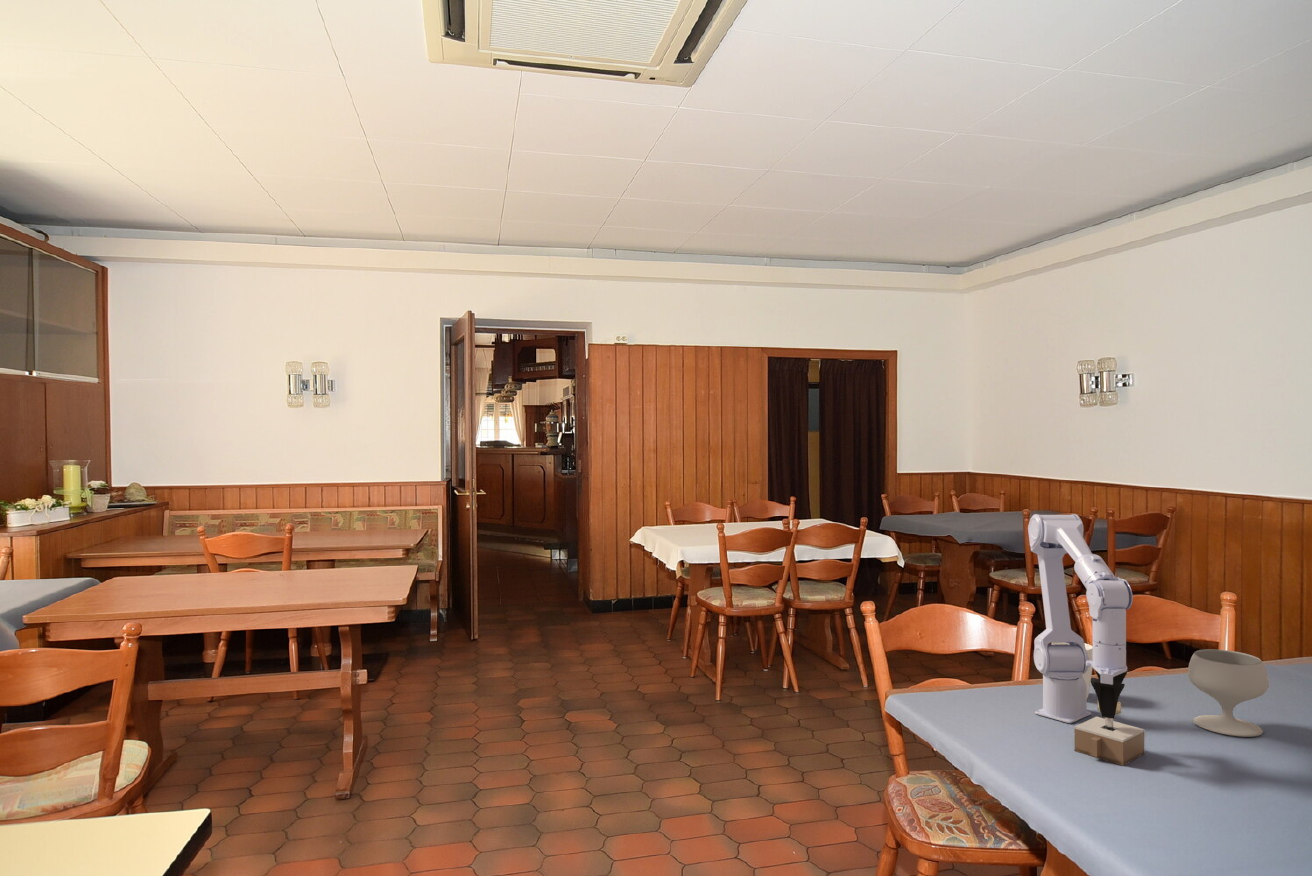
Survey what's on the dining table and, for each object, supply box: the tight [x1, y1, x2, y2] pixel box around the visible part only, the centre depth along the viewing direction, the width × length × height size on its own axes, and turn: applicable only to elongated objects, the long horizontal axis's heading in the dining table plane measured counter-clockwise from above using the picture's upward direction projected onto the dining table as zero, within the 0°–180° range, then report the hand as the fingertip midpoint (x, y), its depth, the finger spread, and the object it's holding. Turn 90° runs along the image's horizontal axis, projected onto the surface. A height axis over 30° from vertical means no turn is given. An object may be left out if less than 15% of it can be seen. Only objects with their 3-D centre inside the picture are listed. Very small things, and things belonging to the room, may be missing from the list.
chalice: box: [1187, 648, 1270, 738], centre depth 172 cm, size 14×14×15 cm
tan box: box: [1074, 716, 1145, 766], centre depth 159 cm, size 11×9×5 cm
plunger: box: [1097, 700, 1122, 731], centre depth 160 cm, size 4×4×6 cm
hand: (1109, 711), depth 160 cm, fingers open, 7 cm apart
